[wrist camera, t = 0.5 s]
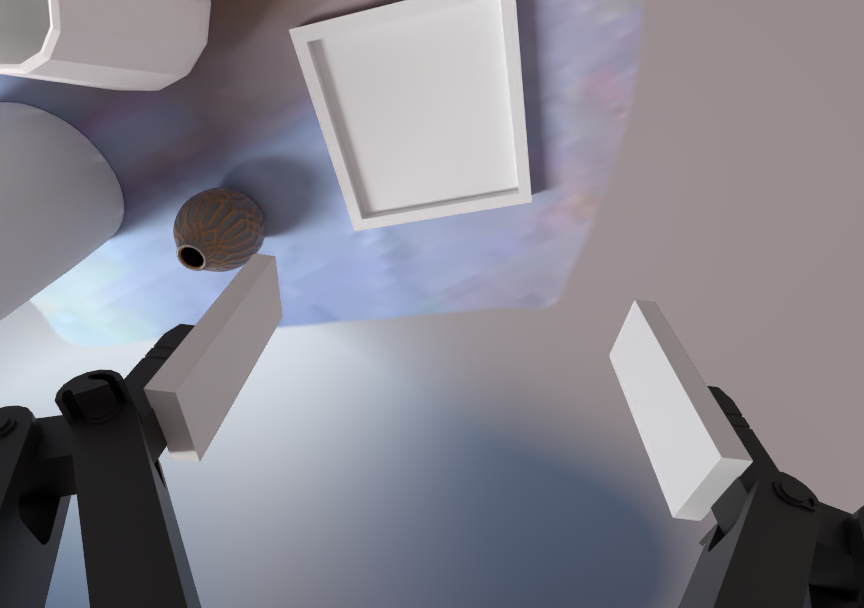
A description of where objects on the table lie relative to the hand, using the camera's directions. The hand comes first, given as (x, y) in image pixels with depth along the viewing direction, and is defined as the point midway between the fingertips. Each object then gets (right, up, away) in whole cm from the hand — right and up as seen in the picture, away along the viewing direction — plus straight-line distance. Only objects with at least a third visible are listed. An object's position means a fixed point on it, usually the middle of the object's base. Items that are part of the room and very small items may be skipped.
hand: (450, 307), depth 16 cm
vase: (-19, +9, +25) cm, 33 cm away
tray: (-2, +15, +19) cm, 25 cm away
